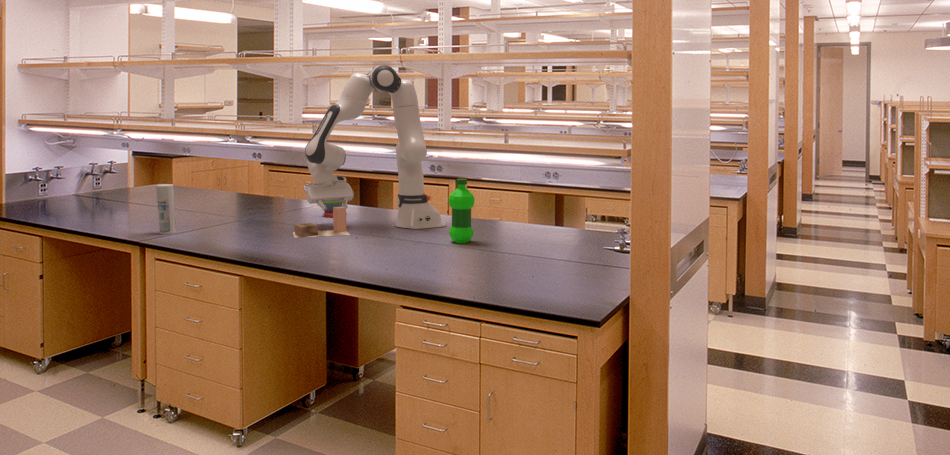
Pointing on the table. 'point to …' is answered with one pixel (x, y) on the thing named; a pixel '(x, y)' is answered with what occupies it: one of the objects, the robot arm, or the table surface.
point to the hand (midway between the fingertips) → (335, 208)
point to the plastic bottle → (461, 213)
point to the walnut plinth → (306, 229)
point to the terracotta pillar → (339, 219)
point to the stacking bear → (331, 208)
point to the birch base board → (325, 233)
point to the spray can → (166, 208)
